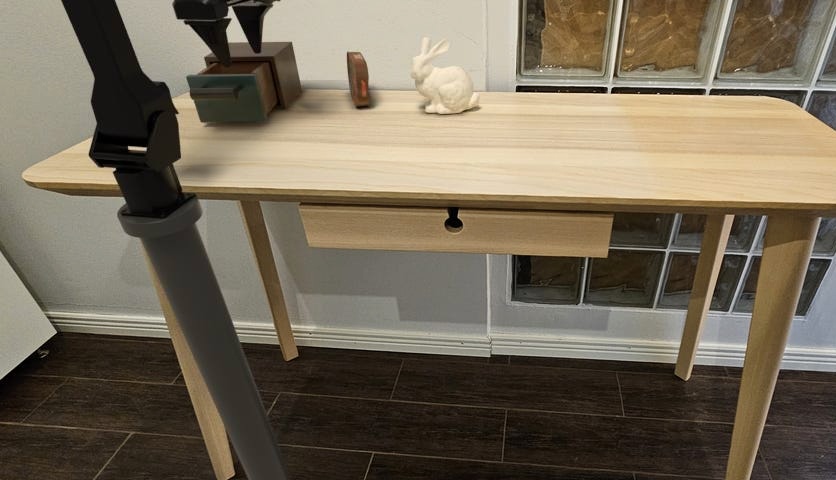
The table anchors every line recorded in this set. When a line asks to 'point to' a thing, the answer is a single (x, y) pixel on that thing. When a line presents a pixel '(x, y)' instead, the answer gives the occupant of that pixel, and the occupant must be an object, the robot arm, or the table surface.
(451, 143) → the table surface
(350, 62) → the tin
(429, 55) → the rabbit
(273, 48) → the cabinet
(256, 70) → the drawer
